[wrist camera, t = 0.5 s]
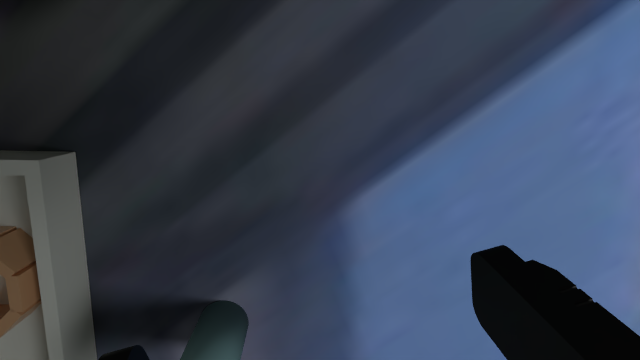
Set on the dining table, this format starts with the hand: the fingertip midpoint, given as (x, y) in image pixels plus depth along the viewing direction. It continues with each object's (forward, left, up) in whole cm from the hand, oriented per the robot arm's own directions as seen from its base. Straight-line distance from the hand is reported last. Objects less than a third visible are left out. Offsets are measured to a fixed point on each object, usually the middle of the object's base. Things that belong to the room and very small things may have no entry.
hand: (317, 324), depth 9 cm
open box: (+8, -23, -21) cm, 31 cm away
